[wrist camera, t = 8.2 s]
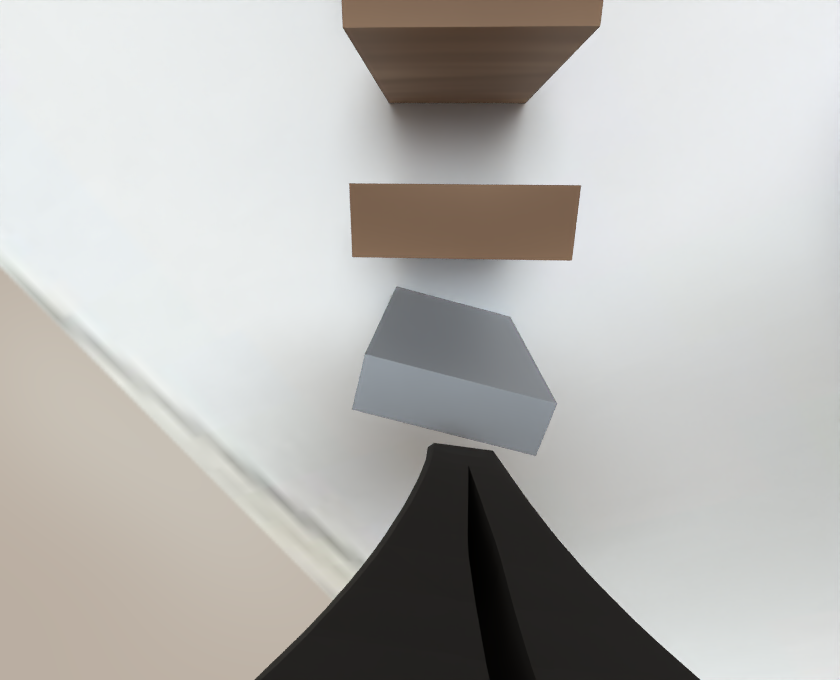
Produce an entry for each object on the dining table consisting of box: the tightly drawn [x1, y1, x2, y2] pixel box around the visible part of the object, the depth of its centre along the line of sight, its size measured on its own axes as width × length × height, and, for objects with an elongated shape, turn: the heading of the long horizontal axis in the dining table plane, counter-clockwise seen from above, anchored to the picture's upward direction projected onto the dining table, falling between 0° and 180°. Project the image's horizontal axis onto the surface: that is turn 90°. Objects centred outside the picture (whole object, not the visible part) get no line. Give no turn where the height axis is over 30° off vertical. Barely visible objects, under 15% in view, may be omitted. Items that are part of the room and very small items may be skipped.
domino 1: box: [342, 0, 603, 103], centre depth 12 cm, size 2×5×8 cm, turn 90°
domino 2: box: [349, 183, 581, 260], centre depth 13 cm, size 2×5×8 cm, turn 90°
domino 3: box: [352, 287, 557, 456], centre depth 15 cm, size 2×5×8 cm, turn 75°
